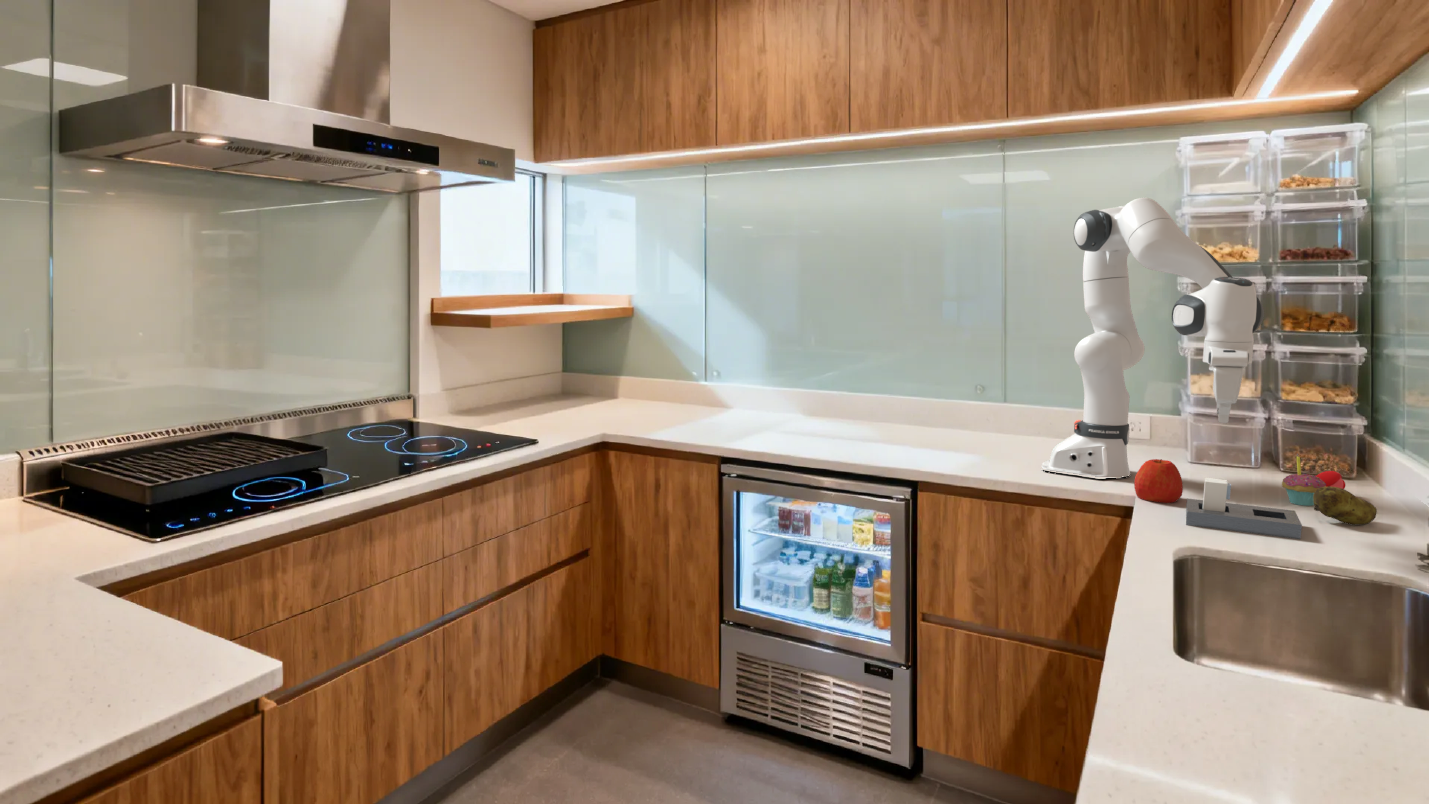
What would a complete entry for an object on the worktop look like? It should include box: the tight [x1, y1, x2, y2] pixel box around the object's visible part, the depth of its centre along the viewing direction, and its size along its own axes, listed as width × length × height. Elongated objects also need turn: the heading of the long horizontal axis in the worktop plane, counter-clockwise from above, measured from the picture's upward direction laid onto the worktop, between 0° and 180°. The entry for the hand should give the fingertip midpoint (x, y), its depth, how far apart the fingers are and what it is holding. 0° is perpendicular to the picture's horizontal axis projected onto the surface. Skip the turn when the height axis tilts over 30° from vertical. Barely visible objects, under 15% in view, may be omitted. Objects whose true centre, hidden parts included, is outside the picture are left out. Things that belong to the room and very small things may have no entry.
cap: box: [1314, 470, 1346, 490], centre depth 199 cm, size 8×6×6 cm
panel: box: [1185, 498, 1303, 541], centre depth 173 cm, size 20×12×4 cm, turn 60°
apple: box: [1134, 458, 1184, 504], centre depth 193 cm, size 10×10×10 cm
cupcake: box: [1281, 453, 1326, 507], centre depth 191 cm, size 9×8×12 cm
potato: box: [1313, 486, 1378, 526], centre depth 175 cm, size 8×13×8 cm, turn 75°
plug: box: [1202, 477, 1232, 512], centre depth 175 cm, size 5×4×9 cm
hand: (1222, 419), depth 172 cm, fingers open, 8 cm apart
